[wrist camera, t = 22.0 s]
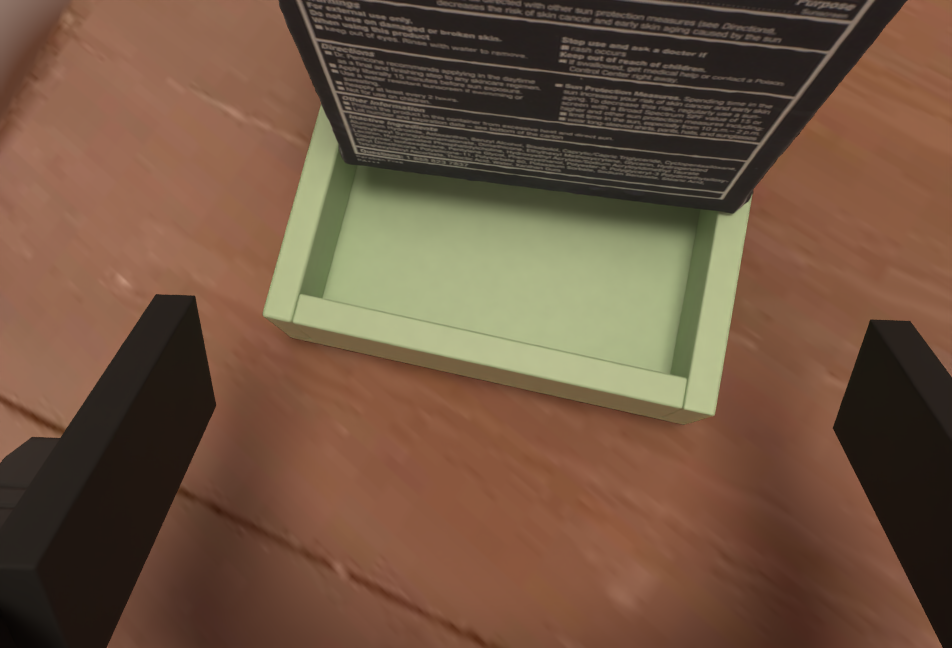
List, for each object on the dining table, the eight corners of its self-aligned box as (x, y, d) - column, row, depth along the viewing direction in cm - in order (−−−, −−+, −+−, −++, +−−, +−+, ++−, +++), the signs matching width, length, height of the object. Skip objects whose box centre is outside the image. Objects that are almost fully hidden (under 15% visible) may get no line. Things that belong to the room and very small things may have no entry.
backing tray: (289, 337, 24) (260, 316, 21) (414, -125, 27) (405, -203, 24) (685, 425, 23) (715, 416, 20) (770, -58, 26) (808, -130, 23)
